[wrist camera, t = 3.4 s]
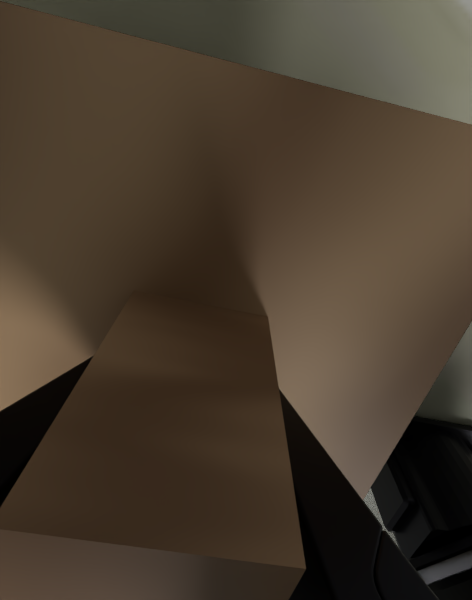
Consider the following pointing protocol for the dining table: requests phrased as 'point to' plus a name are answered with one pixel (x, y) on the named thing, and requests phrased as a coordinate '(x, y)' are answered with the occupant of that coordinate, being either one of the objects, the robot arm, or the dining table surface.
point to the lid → (207, 303)
